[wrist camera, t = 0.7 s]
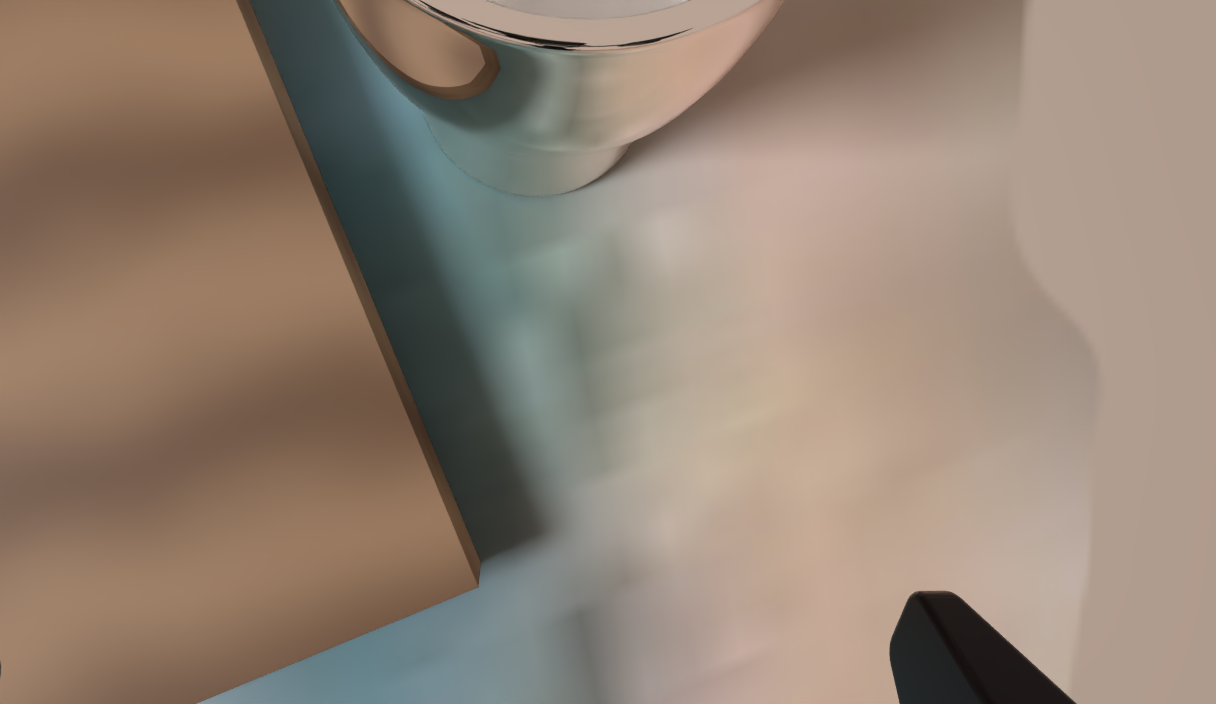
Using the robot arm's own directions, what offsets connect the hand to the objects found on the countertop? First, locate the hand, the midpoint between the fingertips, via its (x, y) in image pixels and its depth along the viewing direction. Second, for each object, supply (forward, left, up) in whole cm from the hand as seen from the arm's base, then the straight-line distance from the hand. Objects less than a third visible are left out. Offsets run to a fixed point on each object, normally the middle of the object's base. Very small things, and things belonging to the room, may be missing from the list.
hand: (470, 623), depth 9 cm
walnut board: (-4, +12, -15) cm, 20 cm away
